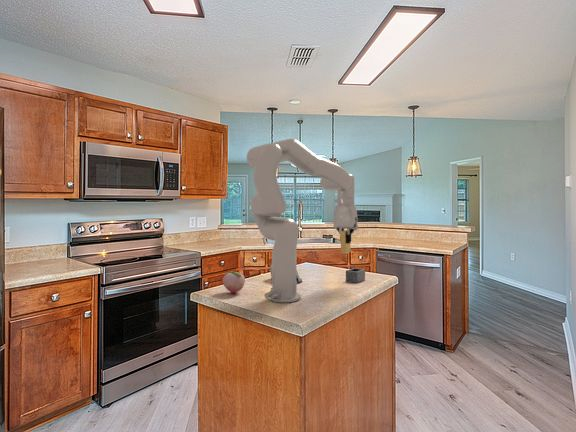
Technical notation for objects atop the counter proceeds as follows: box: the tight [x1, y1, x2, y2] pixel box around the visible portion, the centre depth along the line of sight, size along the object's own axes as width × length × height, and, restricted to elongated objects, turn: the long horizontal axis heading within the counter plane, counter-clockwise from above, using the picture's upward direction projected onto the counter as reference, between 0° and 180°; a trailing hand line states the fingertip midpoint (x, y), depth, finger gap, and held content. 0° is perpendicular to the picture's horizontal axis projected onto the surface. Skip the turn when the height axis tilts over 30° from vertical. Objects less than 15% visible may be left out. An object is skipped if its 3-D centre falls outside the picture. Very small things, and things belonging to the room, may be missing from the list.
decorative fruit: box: [222, 268, 246, 294], centre depth 140 cm, size 9×8×10 cm
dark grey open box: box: [345, 267, 366, 284], centre depth 160 cm, size 8×6×5 cm
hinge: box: [269, 264, 303, 283], centre depth 161 cm, size 17×5×10 cm, turn 45°
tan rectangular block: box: [339, 229, 352, 254], centre depth 152 cm, size 4×2×10 cm, turn 141°
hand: (345, 242), depth 152 cm, fingers closed on tan rectangular block, 2 cm apart
